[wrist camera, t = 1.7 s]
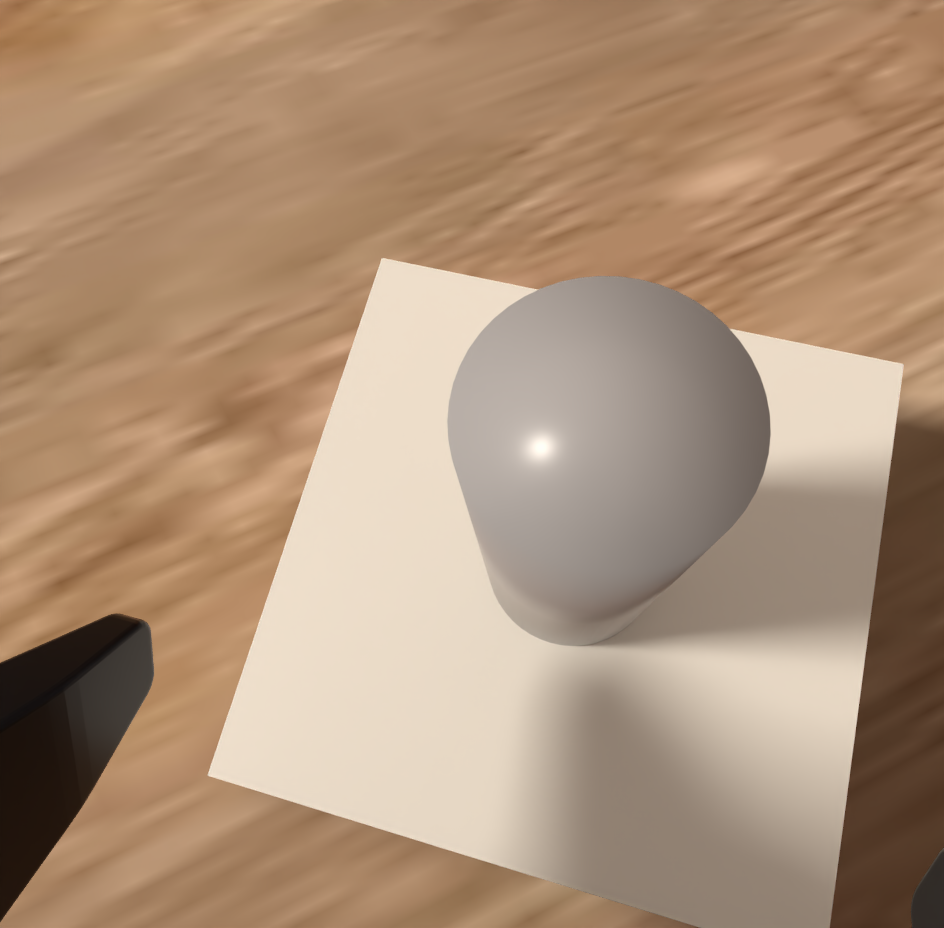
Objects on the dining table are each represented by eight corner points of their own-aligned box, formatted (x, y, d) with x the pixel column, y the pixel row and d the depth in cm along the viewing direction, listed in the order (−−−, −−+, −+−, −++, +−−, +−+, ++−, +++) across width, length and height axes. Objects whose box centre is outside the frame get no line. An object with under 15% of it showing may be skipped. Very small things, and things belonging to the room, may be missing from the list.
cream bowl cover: (757, 908, 17) (1192, 1279, 6) (275, 763, 19) (-117, 833, 7) (830, 433, 20) (1214, 67, 9) (409, 342, 22) (274, -70, 10)
